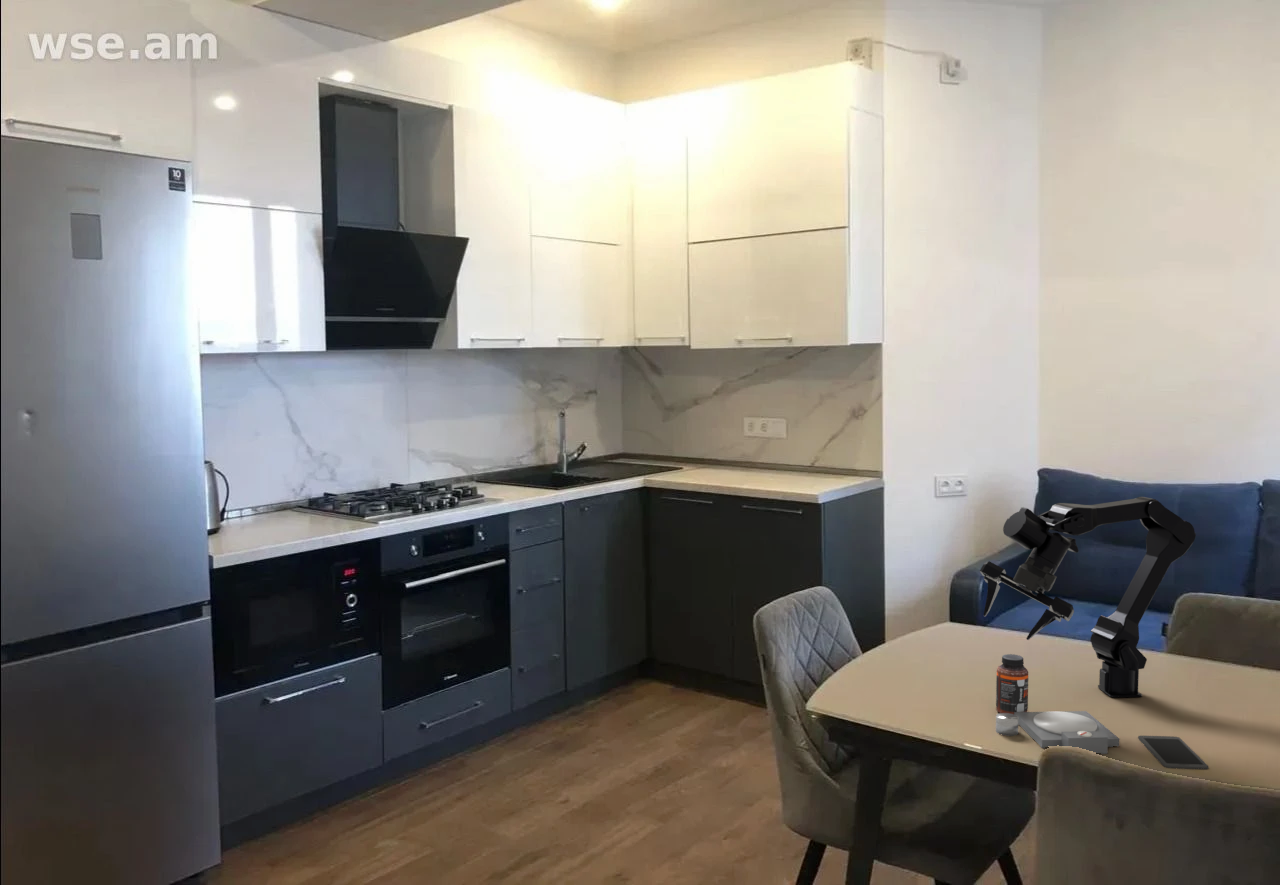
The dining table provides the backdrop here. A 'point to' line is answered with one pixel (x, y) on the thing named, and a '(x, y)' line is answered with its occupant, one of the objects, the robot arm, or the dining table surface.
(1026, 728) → the scale
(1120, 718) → the dining table surface
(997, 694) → the supplement bottle
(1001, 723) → the shiny metal cylinder
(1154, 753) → the cell phone
